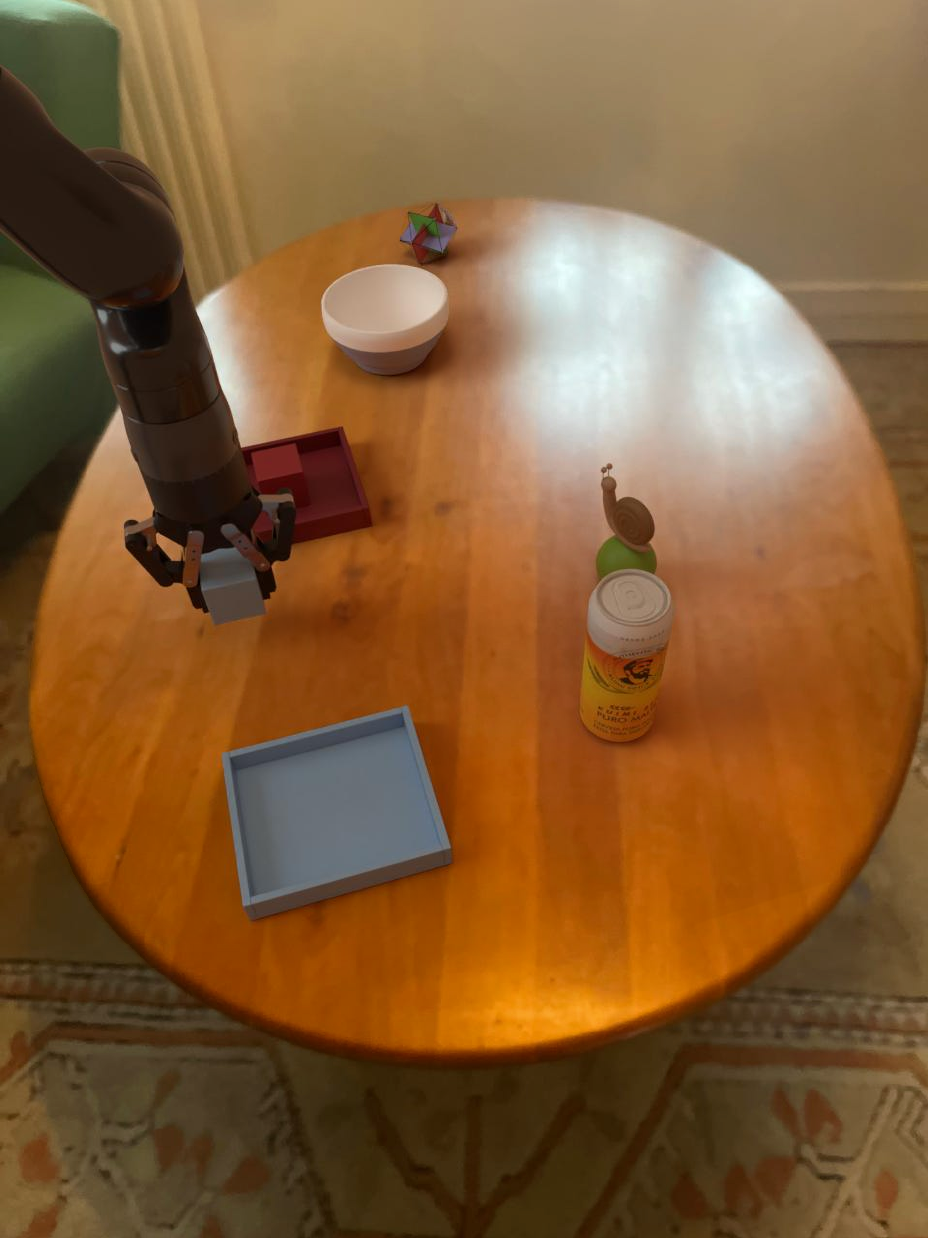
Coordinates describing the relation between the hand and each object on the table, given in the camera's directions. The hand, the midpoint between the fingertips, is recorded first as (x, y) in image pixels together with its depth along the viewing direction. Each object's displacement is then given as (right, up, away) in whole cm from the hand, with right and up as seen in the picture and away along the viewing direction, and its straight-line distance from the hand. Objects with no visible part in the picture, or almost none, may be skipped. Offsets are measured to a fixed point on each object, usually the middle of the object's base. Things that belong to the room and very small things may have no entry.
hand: (236, 598), depth 83 cm
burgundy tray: (+2, +10, +15) cm, 18 cm away
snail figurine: (+34, +2, +6) cm, 35 cm away
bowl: (+11, +29, +30) cm, 44 cm away
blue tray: (+10, -17, -9) cm, 22 cm away
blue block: (0, 0, 0) cm, 0 cm away
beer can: (+32, -10, -4) cm, 34 cm away
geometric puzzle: (+15, +46, +44) cm, 66 cm away
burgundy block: (+2, +11, +14) cm, 18 cm away
